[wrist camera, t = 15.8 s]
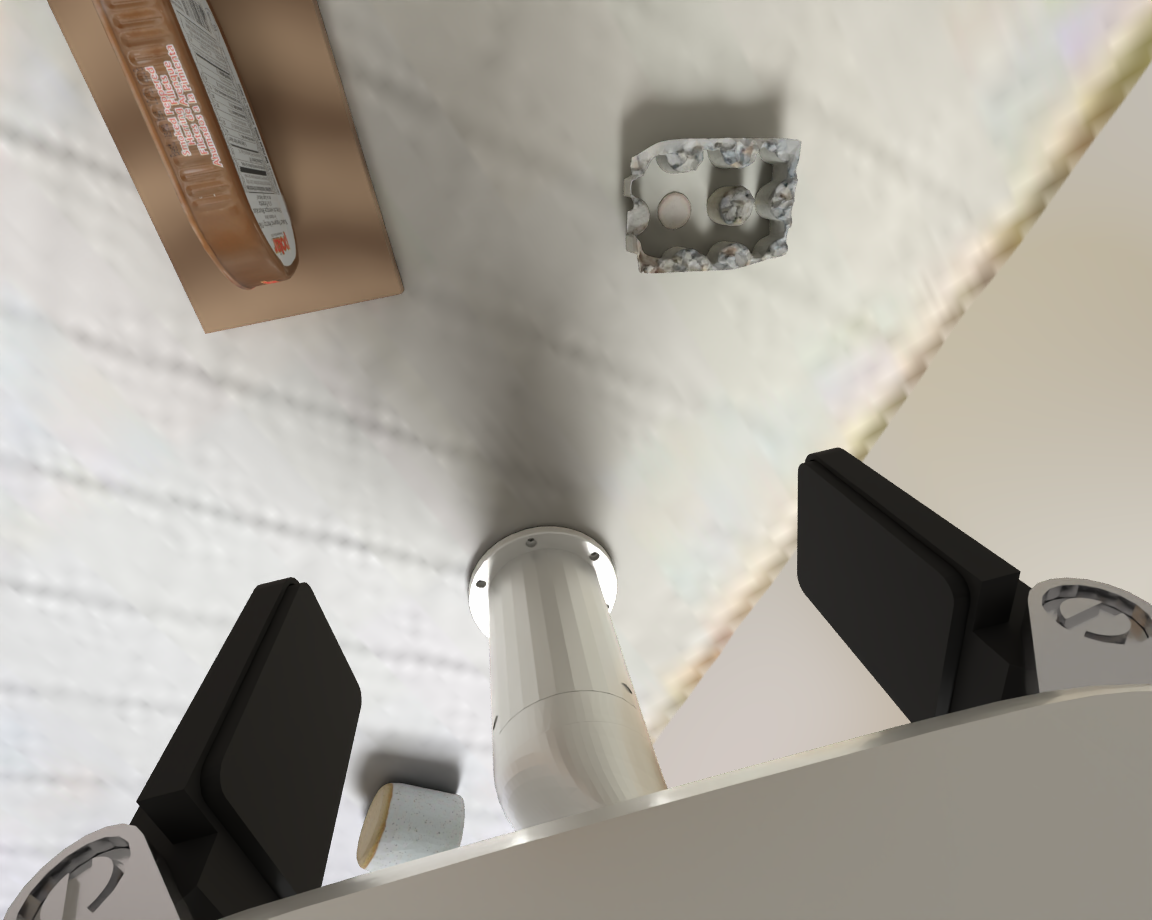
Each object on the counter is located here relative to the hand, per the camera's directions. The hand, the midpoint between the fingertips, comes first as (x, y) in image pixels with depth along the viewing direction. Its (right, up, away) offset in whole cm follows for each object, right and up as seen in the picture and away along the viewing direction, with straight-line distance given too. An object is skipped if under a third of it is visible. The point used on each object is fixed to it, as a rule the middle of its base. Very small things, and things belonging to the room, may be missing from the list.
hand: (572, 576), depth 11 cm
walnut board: (-19, +21, +21) cm, 35 cm away
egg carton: (+8, +19, +27) cm, 34 cm away
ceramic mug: (-17, -33, +47) cm, 60 cm away
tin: (-18, +20, +20) cm, 33 cm away
